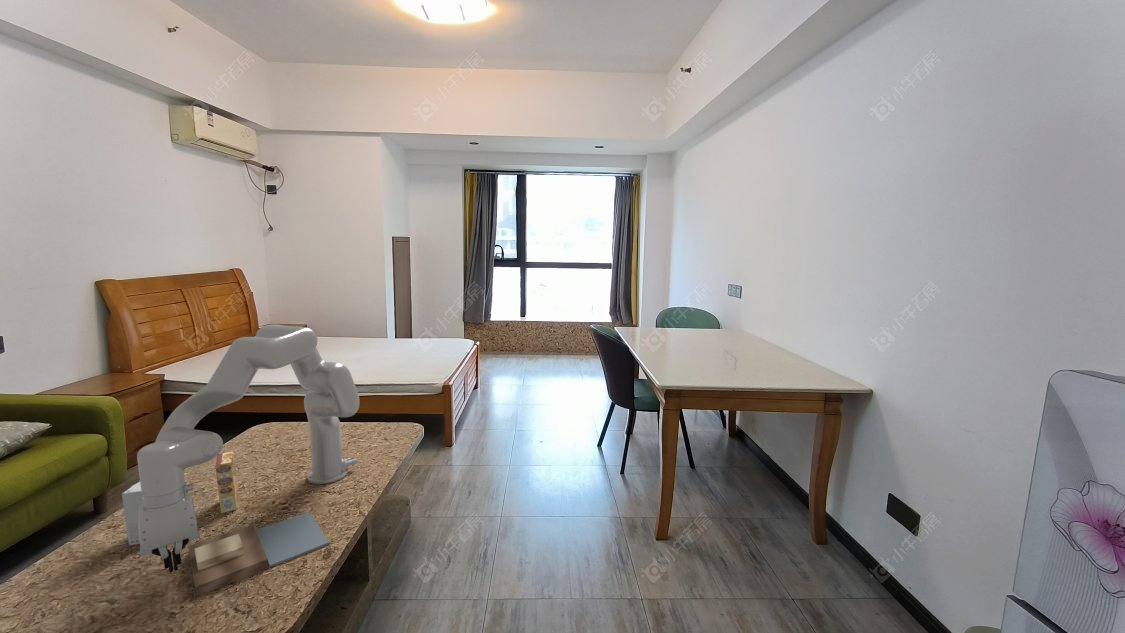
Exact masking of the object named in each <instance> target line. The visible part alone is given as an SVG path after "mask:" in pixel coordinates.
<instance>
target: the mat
mask: <svg viewBox="0 0 1125 633" xmlns="http://www.w3.org/2000/svg"><path fill="white" fill-rule="evenodd" d="M255 530H256V532H257V534H258V537H259V539H260V542H261V544H262V546H263V549H264V551H265V553H266V556H267V558H268V567H269V568H273V567H275V566H278V565H280V564H282V563H286V562H288V561H291V560H293V559H296V558H298V557H301V556H303V555H306V554H308V553H311V552H313V551H314V552H315V551H317V550H319V549H321V548H325V547H326V546H328V545H331V544H330V541H329V538H328V537H327V536H326V534H325V533H324V532H323V530H322V528H321V527H320V525H319V524H318V522H317V521H316V518H315V517H314V515H313V514H312V513H311V511H309V512H305V513H303V514H299V515H296V516H293V517H290V518H288V519H285V520H282V521H279V522H275V523H272V524H270V525H267V526H264V527H261V528H258V529H255Z"/></svg>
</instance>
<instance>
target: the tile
mask: <svg viewBox="0 0 1125 633" xmlns="http://www.w3.org/2000/svg"><path fill="white" fill-rule="evenodd" d="M243 554H244V549H243V544H242V542H241V539H240V536H239V534H236V535H233V536H230V537H227V538H224V539H221V540H218V541H216V542H213V543H210V544H207V545H204V546H201V547H198V548H195V557H196V562H197V567H198V571H199V570H202V569H204V568H207V567H210V566H213V565H215V564H218V563H221V562H224V561H226V560H229V559H232V558H235V557H237V556H240V555H243Z"/></svg>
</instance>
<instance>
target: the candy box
mask: <svg viewBox="0 0 1125 633" xmlns="http://www.w3.org/2000/svg"><path fill="white" fill-rule="evenodd" d="M214 467H215V473H216V482H217V492H218V499H219V509H220V514H224V513H228V512H232V511H236V510H238V502H239V493H238V484H237V475H236V466H235V457H234V451H228V452H222V453H219V454H218V455H217V456H216V460H215V465H214Z"/></svg>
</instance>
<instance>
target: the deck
mask: <svg viewBox="0 0 1125 633" xmlns="http://www.w3.org/2000/svg"><path fill="white" fill-rule="evenodd" d="M256 530H257V529H256V527H255V525H254V524H251V525H248V526H245V527H241V528H239V529H236V530H232V531H228V532H227V533H223V534H220V535H217V536H214V537H212V538H208V539H205V540H202V541H199V542H195V543H193V544H190V545H188V546H187V548H188V555H189V556H188V557H189V562H190V569H191V574H192V579H193V585H194V591H195V595H196V597H199V596H201V595H205V594H206V593H210V592H211V591H214V590H217V589H220V588H222V587H225V586H227V585H229V584H232V583H236V582H237V581H240V580H242V579H245V578H247V577H250V576H253V575H255V574H257V573H261V572H262V571H265V570H268V569H269V568H270V566H269V564H268V558H267V556H266V553H265V551H264V549H263V546H262V544H261V542H260V539H259V537H258V534H257V532H256ZM236 534H239V536H240V539H241V542H242V544H243V549H244V554H243V555H240V556H237V557H235V558H232V559H229V560H226V561H224V562H221V563H218V564H215V565H213V566H210V567H207V568H204V569H202V570H199V571H198V567H197V562H196V557H195V548H198V547H201V546H204V545H207V544H210V543H213V542H216V541H218V540H221V539H224V538H227V537H230V536H233V535H236Z"/></svg>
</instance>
